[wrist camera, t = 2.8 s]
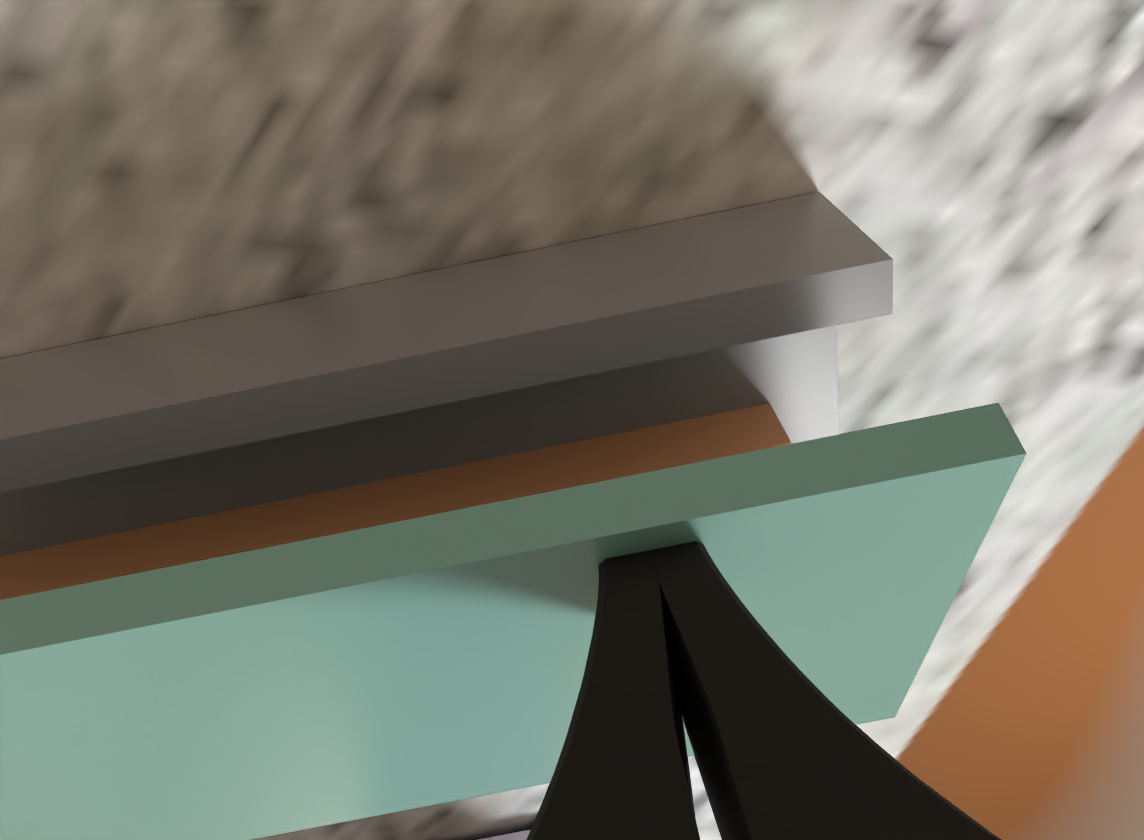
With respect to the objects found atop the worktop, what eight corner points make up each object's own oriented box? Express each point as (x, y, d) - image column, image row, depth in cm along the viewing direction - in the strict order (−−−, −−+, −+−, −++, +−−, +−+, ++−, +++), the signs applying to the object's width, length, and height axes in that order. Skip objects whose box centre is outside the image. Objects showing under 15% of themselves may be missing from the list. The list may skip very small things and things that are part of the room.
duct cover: (882, 681, 20) (894, 717, 19) (-57, 860, 20) (-67, 899, 20) (998, 402, 11) (1026, 453, 11) (-600, 718, 12) (-640, 780, 11)
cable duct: (833, 583, 23) (890, 696, 20) (22, 741, 24) (-51, 875, 21) (819, 191, 18) (892, 258, 15) (-233, 406, 18) (-387, 517, 15)
